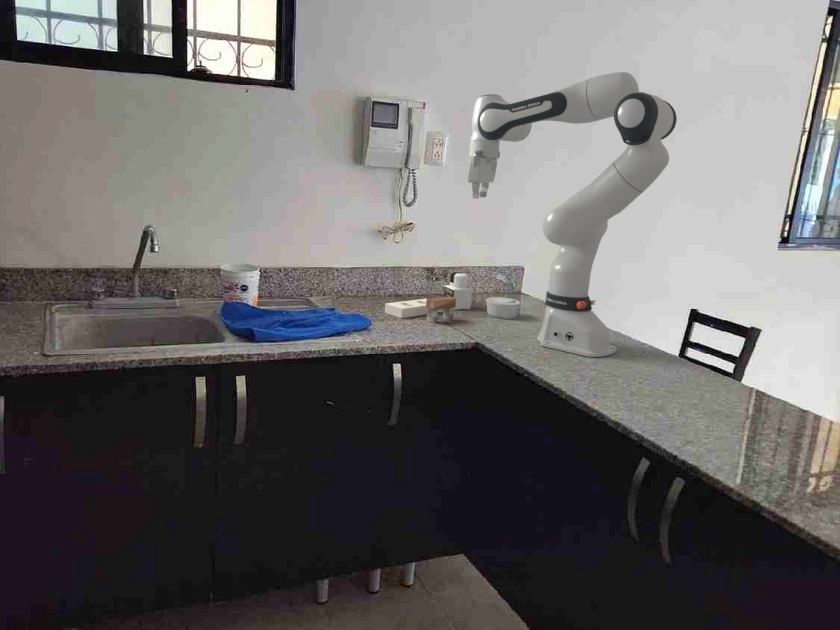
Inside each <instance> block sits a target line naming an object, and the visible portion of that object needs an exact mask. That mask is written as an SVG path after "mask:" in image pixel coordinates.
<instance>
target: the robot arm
mask: <svg viewBox="0 0 840 630" xmlns="http://www.w3.org/2000/svg"><path fill="white" fill-rule="evenodd" d="M676 113H677V112H676V110H675V109H674V106H672V105H671V103H669V102H668V101H667V100H664V99H662V98H661V97H659V96H657V95H654V94H649V93H647V92H640V90H639V84H638V81H637V80H636V78H635V77H634V76H633V75H632V74H631V73H630V72H627V71H619V72H617V71H616V72H612V73H606V74H602V75H601V74H600V75H598V76H594V77H590V78H588V79H585V80H582V81H579V82H576V83H574V84H570V85H569V86H566V87H563V88H561V89H558V90H555V91H552V92H549V93H547V94H542V95H539V96H535V97H532V98H528V99H524V100H520V101H516V102H511V103H509V102H508V101H506V100H505V99H504V98H503V96H501V95H499V94H495V93H493V94H484V95H481V96H479V97H477V99H476V101H475V103H474V106H473V111H472V119H471V130H472V131H471V132H472V133H471V136H470V139H469V149H468V156H469V157H470V159H469V165H468V170H467V171H468V173H467V182H468V183H471V190H472V196H471V197H472V199H477V200H478V199H480V198H484V199H485V198H487V194H488V190H489V188H490V187H489V186H490V183H491V184H492V183H493V182H494V180H495V177H496V172H497V166H498V159H500V155H501V153H500V141H504V142H512V143H516V142H521V141H523V140H525V139H526V138H527V137H528V136H529V135H530V133H531V129H532V124H534V123H538V122H544V121H547V122H548V121H549V122H550V121H552V122H559V123H560V122H561V123H566V124H575V125H576V124H577V125H578V124H590V123H593V122H598V121H602V120H605V119H608V118H609V119H610V118H612V117H613V119H614V124H615V127H616V128H617V130H618V132H619V135H620V136H621V139H622V141H623V143H624V144H626V145H627V146H626V149H625V150H624V151H623V152H622V153H621V154H620V155H618V157H617V158H615V160H614V161H612V163H611V164H609V166H608V167H607V168H605V169H604V170H603V171H602V172H601V173H600V174H599V175H598V176H597V177H596V178H594V180H592V181H591V182H590V183H589V184H588V185H586V186H584V188H582V189H581V190H579V191H578V192H576V193H575V194H574V195H572V196H571V197H569V198H568V199H567V200H566V201H564V202H563V203H562V204H560V205H559V206H557V207H555V208H554V209H552V210H550V211H549V212H548V213H547V214H546V215H545V217H544V218H543V222H542V231H543V235H544V237H545V239H547V240H548V242H550V243H552V244H555V245H556V246H560V247H559V249H558V252H557V255H556V257H555V258H554V260H553V261H552V263H551V265H550V272H549V282H548V290H547V291H546V295H545V301H544V305H545V310H544V316H543V320H542V324H541V328H540V330H539V333H538V335H537V338H536V339H537V341H538V342H539V345H540V346H541V347H545V348H550V349H554V350H558V351H563V352H566V353H572V354H575V355H579V356H585V357H588V358H597V357H599V358H601V357H606V356H610V355H613V354H615V353H616V352H617V349H618V348H617V346H615V345H612V344H610V331H609V328H608V327H607V326H606V324H605V323H603V321H602V320H601V319H600V318H599V317H598V315H597V314H596V313H595V312H594V311H593V307H592V305H593V306H594V305H596V303H595V302H596V300H595V299H594V300H592V299H590V296H589V290H590V289H589V288H590V282H591V274H592V270H593V264H594V262H595V259H596V255H597V252H598V250H599V246H600V243H601V240H602V238H603V237H604V236H605V234H606V232H607V230H608V224H609V223H608V222H609V221H608V220H610V219H611V218H613V217H615V216H616V215H619V214H620V213H621V212H623V211H624V210H625V209H627V208H628V206H629V205H630V204H632V203H633V202H634V201H635V200H636V199H637V198H638V197H639V196H640V195H642V194H643V193H644V192H645V191H646V190H647V189H648V188H649V187H650V186H651V185H653V183H654V182H655V181H656V180H657V179H658V178H659V177H660V175H661V174H662V172H663V171H664V170H665V169H667V166H668V165H669V161H670V155H669V151H668V149H667V148H666V146H665V145H664V144H663V141H662V140H664V139H666V138H667V137H669V136H670V135H671V134H672V133H673V131H674V130H675V128H676V125H677V121H678V120H677V119H678V118H677V114H676ZM480 187H481V188H480Z"/></svg>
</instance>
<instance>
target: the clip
mask: <svg viewBox="0 0 840 630" xmlns="http://www.w3.org/2000/svg"><path fill="white" fill-rule="evenodd" d="M426 299H427V300H426V309H427V314H426V322H428V321H429V322H428V323H431V322H432V323H431V324H437V323H438V317H439V316H438V315H439V313H438V310H441V309H442V319H443V318H444V319H443V320H446V319H447V320H446V321H449V320H450V321H453V320H454V313H455V310H454V308H455V307H456V298H454V297H450V296H447V297H444V296H441V297H433V298H426ZM436 322H437V323H436Z"/></svg>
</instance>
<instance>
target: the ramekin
mask: <svg viewBox="0 0 840 630" xmlns="http://www.w3.org/2000/svg"><path fill="white" fill-rule="evenodd" d="M520 306H521V302H520V301H519V300H518V299H514V298H511V297H503V296H501V297H500V296H491V297H487V298H486V309H487V311H486V313H487V314H488V316H490V317H492V318H494V319H499V320H500V319H501V320H502V319H503V320H513V319H515V318H516V317H517V316H518V312H519V309H520Z"/></svg>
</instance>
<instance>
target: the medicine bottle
mask: <svg viewBox="0 0 840 630" xmlns="http://www.w3.org/2000/svg"><path fill="white" fill-rule="evenodd" d="M449 277H450V278H449V284H446V285H444V291H443V297H447V296H450V297H454V298H456V307H455V308H454V311H457V310H459V311H460V310H461V309H463V310H471V309H472V308H471V307H472V295H473V288H470V287H468V283H469V282H468V281H469V274H467V273H465V272H462V271H461V272H459V271H455V272H451V273H450V276H449Z"/></svg>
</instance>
